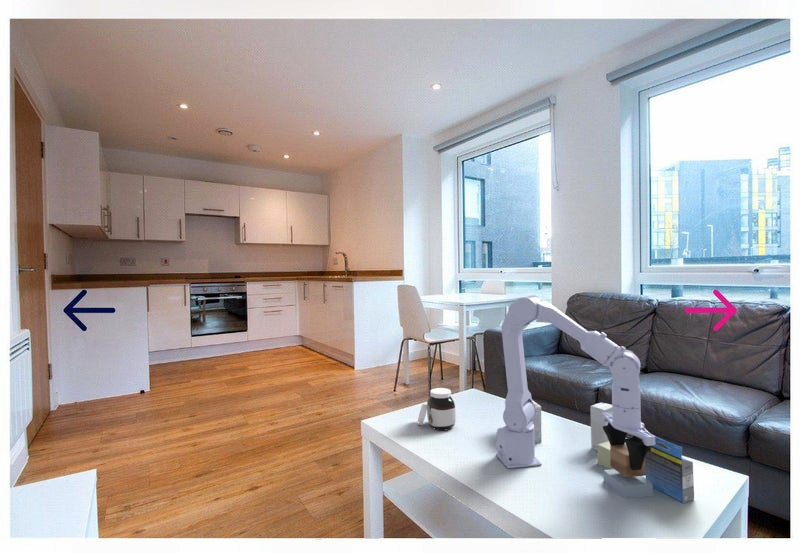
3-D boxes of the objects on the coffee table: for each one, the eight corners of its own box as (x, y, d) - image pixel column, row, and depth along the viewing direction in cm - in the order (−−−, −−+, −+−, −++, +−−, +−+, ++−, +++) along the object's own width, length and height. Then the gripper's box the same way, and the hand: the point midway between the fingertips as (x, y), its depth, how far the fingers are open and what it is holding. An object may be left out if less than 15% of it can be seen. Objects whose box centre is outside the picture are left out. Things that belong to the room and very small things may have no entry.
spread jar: (459, 429, 124) (458, 393, 124) (428, 436, 120) (427, 398, 120) (441, 417, 136) (440, 383, 135) (412, 422, 131) (411, 388, 131)
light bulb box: (507, 429, 124) (506, 396, 124) (527, 428, 124) (527, 395, 124) (520, 444, 113) (520, 407, 113) (542, 443, 114) (542, 406, 113)
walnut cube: (625, 477, 87) (625, 455, 87) (610, 466, 92) (610, 445, 91) (645, 475, 87) (645, 453, 87) (629, 464, 92) (629, 443, 92)
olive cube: (615, 472, 97) (614, 452, 97) (597, 463, 101) (597, 444, 101) (628, 467, 99) (628, 448, 99) (611, 459, 103) (610, 440, 103)
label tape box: (695, 500, 84) (694, 444, 84) (682, 504, 83) (681, 447, 83) (656, 480, 93) (655, 429, 92) (644, 483, 91) (643, 431, 91)
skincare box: (605, 454, 106) (605, 410, 106) (590, 448, 110) (589, 405, 109) (617, 448, 109) (616, 405, 109) (601, 442, 113) (601, 401, 113)
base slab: (623, 499, 86) (623, 485, 86) (603, 482, 93) (603, 469, 93) (652, 496, 86) (652, 483, 86) (630, 480, 93) (630, 467, 93)
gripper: (667, 414, 83) (668, 477, 83) (619, 393, 97) (620, 447, 97) (638, 417, 82) (639, 481, 82) (593, 395, 96) (594, 450, 96)
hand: (627, 463), depth 89 cm, fingers closed on walnut cube, 5 cm apart
